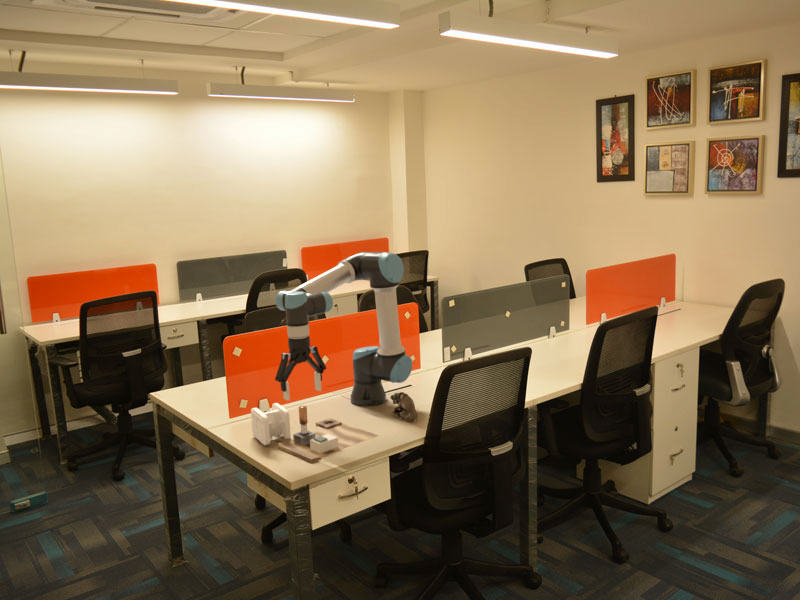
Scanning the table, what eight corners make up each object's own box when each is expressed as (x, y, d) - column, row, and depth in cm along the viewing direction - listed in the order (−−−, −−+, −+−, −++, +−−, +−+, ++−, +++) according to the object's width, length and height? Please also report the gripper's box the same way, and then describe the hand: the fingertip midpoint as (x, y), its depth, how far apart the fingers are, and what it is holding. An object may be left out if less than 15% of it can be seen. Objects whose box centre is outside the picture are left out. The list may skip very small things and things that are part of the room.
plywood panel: (344, 426, 265) (343, 415, 264) (378, 438, 250) (378, 427, 250) (278, 447, 244) (277, 436, 244) (311, 462, 230) (310, 451, 229)
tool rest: (330, 423, 268) (330, 418, 268) (341, 427, 263) (341, 422, 263) (316, 427, 264) (315, 422, 263) (327, 432, 259) (327, 427, 258)
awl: (305, 439, 248) (303, 405, 246) (310, 441, 246) (308, 406, 244) (299, 441, 246) (297, 407, 244) (303, 443, 244) (301, 408, 242)
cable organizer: (292, 442, 249) (290, 411, 247) (264, 449, 244) (262, 417, 242) (277, 430, 262) (276, 401, 260) (250, 436, 257) (248, 406, 255)
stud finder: (328, 443, 244) (328, 432, 243) (338, 447, 240) (337, 435, 239) (310, 449, 239) (309, 438, 238) (319, 453, 235) (319, 442, 234)
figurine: (402, 411, 279) (402, 388, 278) (421, 421, 267) (420, 396, 265) (389, 414, 276) (388, 390, 275) (407, 424, 264) (406, 399, 262)
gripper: (320, 328, 251) (324, 384, 255) (262, 341, 234) (266, 401, 238) (333, 331, 245) (337, 388, 249) (274, 345, 229) (279, 406, 232)
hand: (302, 395), depth 244 cm, fingers open, 13 cm apart
